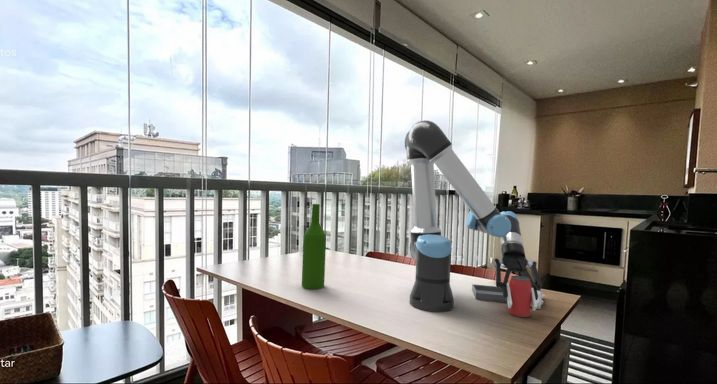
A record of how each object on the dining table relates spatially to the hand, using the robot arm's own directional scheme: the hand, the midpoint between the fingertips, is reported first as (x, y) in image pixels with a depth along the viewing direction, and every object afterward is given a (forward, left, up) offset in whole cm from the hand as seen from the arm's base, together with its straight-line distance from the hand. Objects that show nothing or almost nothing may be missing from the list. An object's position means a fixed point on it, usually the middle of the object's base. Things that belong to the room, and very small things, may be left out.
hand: (522, 307), depth 108 cm
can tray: (-6, +22, -3) cm, 23 cm away
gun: (+7, +19, -4) cm, 21 cm away
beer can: (0, +4, -4) cm, 5 cm away
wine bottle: (-74, +13, -4) cm, 75 cm away
